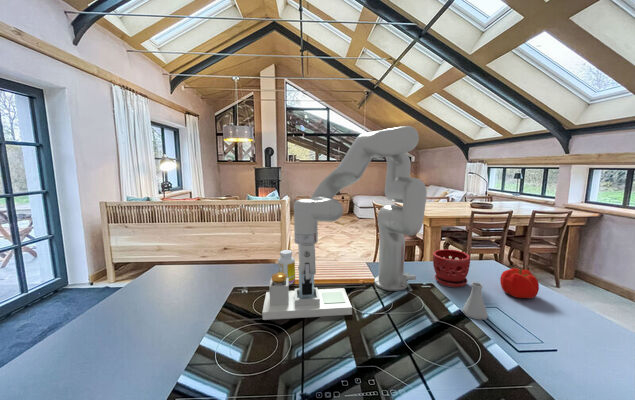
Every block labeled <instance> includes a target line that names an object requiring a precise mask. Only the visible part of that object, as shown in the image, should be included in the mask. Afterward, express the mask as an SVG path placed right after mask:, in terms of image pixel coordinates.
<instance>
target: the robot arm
mask: <svg viewBox="0 0 635 400" xmlns="http://www.w3.org/2000/svg"><path fill="white" fill-rule="evenodd" d="M419 137H420V136H419V132H418V130H417V129H415V127H414V126H410V125H405V126H398V127H391V128H386V129H381V130H375V131H370V132H364V133H361V134H359V135H358V136H357V137H356V138H355V139H354V141H353V142H352V144H351V146H350V147H349V148H348V150H347V152H346V154H345V155H344V157H343V158H342V160H341V161H340V163H339V164H338V165H337V167H336V168H335V169H334V170H333V171H331V172H330V173H329V174H327V175H328V176H325V178H324V179H323V180H322V181H321V182H320V184H318V186H317V188H316V189H315V191H314V192H313V194H312V195H311V196H310V198H301V199H296V200H295V201H294V203H293V218H294V219H293V224H294V225H293V226H294V227H293V228H294V244H295V245H298V249H297V250H298V266H299V265H300V272H301V275H303V283H302V295H311V294H312V282H311V272H312V274H314V276H315V275H316V274H317V271H316V267H317V266H316V245H315V244H318V239H319V238H318V233H319V232H318V225H319V224H318V223H319V222H326V223H330V222H331V223H332V222H335V221H337V220H339V219H341V217H342V216H343V213H344V208H343V204H342V203H341V202H340V201H339V200H337V199H335V198H334V197H335V196H336V195H337V194H338V193H339V192H340V191H342V190H343V189H344V188H346V187H349V186H352V185H353V184H355V183H357V182H358V181H359V180H361V178H362V176H363V174H364V172H365V171H366V169H367V168H368V166H369V165H370V163H371V161H372V160H373V159H375V158H385V160H386V175H385V184H384V196H385V198H386V199H387V200H389V201H391V202H394V203H400V204H402V206H400V205H396V204H386V205H384V206H381V208H380V209H379V210H378V213H377V224H378V230H379V245H378V246H379V248H378V250H379V252H378V275H377V276H376V277H375V278H374V285H375V286H376V287H377V288H380V289H381V290H385V291H390V292H400V291H404V290H406V289H407V287H408V281H416V280H417V279H416V277H417V276H416V275H415V274H410V273H409V272H406V273H404V272H405V269H404V268H405V252H406V250H405V249H406V248H405V247H406V240H405V239H406V238H405V235H406V236H415V235H417V234H418V233H420V231H421V230H422V227H423V224H424V218H425V211H426V203H427V194H428V193H427V186H426V185H425V183H424V181H423V180H421V179H419V178H416V177H411V167H412V165H411V159H410V156H409V155H408V152H411V151H412V150H414V149H415V148H416V147H417V145H418V143H419V140H420V138H419ZM304 272H305V273H304ZM309 272H310V273H309ZM304 276H305V279H304Z"/></svg>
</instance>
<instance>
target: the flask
mask: <svg viewBox="0 0 635 400" xmlns="http://www.w3.org/2000/svg"><path fill="white" fill-rule="evenodd" d="M470 286H471V290H470V291H471V292H470V295H469V296H468V298H467V300H466V302H465V304H464V306H463V307H462V309H461V312H462V313H463V314H464V315H465V316H466V317H469V318H471V319H474V320H487V319H488V312H487V308H486V305H485V301H484V299H483V294H482V289H483V287H484V284H482V283H480V282H475V281H472V282H471V284H470Z"/></svg>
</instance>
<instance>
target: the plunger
mask: <svg viewBox="0 0 635 400" xmlns="http://www.w3.org/2000/svg"><path fill="white" fill-rule="evenodd" d="M271 279H272V281H273V282H274V285H285V281H286V279H287V277H286V274H285V273H278V272H276V273H273V274H272V275H271Z"/></svg>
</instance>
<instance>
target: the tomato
mask: <svg viewBox="0 0 635 400" xmlns="http://www.w3.org/2000/svg"><path fill="white" fill-rule="evenodd" d="M499 279H500V281H499V282H500V287H501V289H502V290H503V292H504V293H505V294H508V295H510V296H512V297H513V298H514V297H515V298H517V299H532V298H535V297H537V295H538V294H539V290H540V284H539V281H538V279H537V277H536V276H535V275H534V274H532V273H531V271H530V270H528V269H524V268H523V269H521V268H520V269H519V268H517V267H516V268H514V267H512V268H510V269H507V270H504V271H503V272H502V273H501V275H500V278H499Z"/></svg>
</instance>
